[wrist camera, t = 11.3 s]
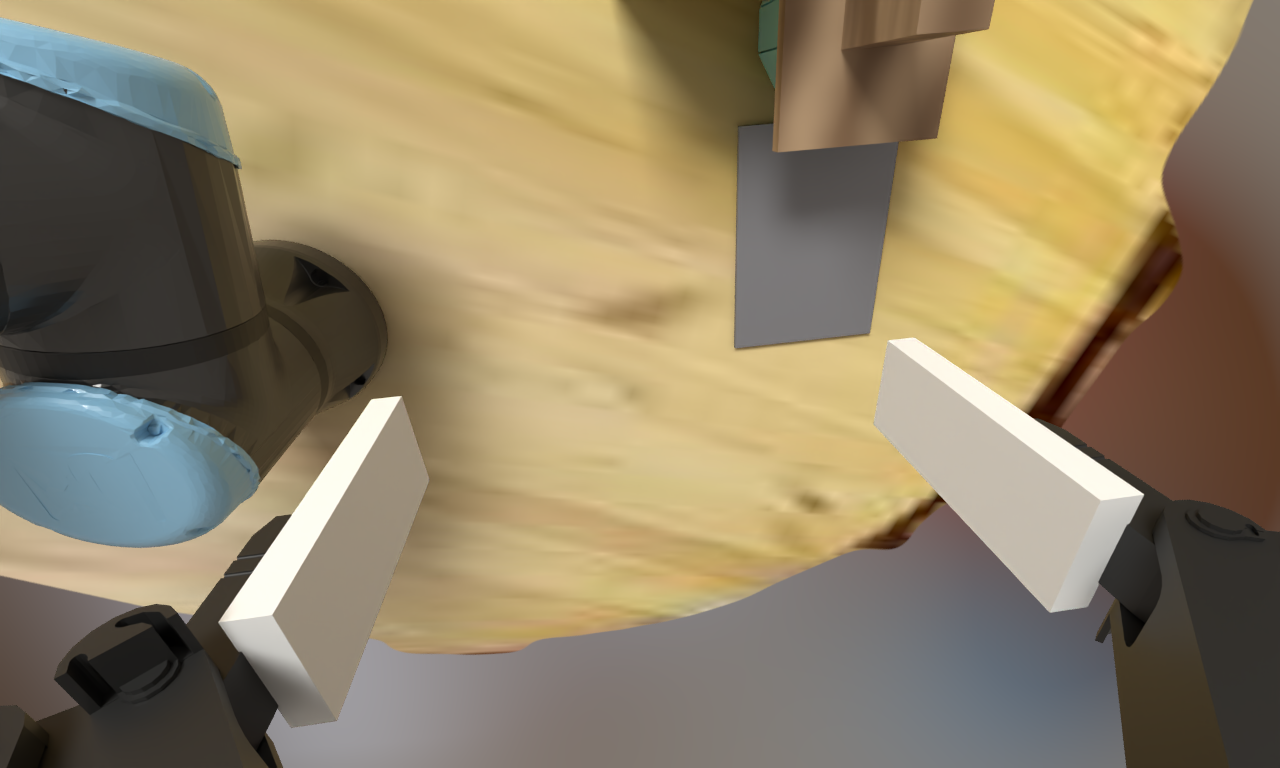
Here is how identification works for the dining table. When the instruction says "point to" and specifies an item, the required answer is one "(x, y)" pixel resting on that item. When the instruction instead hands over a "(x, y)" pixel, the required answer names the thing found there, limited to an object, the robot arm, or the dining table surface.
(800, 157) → the charcoal mat
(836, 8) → the walnut lid
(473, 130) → the dining table surface
